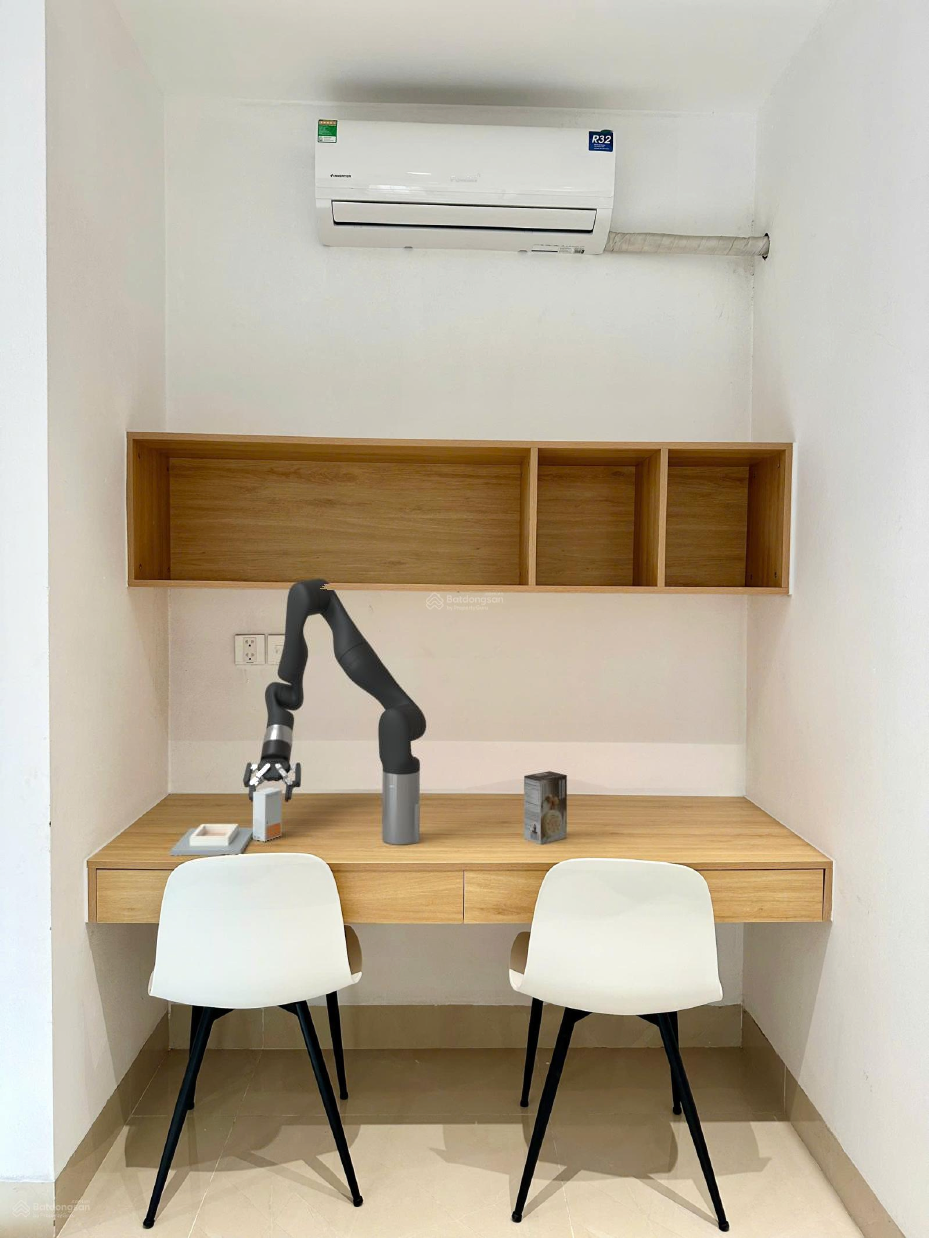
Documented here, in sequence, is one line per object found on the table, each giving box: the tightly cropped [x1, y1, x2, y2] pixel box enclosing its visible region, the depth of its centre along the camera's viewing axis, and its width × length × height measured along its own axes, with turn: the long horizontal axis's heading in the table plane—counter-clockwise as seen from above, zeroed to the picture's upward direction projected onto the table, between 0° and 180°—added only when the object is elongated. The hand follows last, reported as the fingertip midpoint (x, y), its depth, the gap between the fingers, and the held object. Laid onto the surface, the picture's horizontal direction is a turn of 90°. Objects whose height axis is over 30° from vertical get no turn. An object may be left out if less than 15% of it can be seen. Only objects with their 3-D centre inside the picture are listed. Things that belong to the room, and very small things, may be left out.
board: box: [169, 823, 253, 857], centre depth 206 cm, size 16×18×3 cm
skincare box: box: [252, 786, 283, 843], centre depth 210 cm, size 6×4×12 cm
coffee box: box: [523, 770, 568, 845], centre depth 212 cm, size 9×6×16 cm
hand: (269, 800), depth 213 cm, fingers open, 8 cm apart
